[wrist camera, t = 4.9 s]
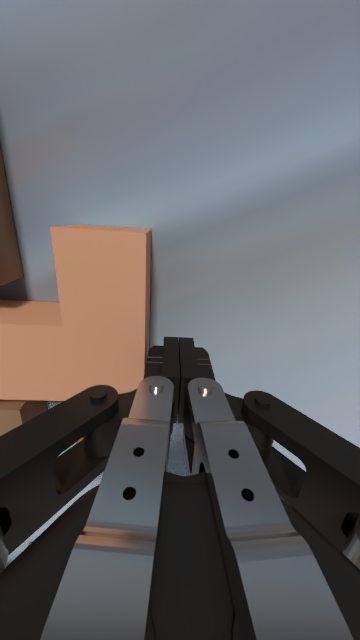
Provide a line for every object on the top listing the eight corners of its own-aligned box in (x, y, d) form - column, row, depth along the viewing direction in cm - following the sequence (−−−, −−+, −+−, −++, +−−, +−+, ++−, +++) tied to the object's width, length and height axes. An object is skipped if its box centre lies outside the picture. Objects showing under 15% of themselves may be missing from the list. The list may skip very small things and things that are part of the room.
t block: (151, 229, 12) (146, 233, 9) (147, 419, 17) (143, 459, 14) (-79, 213, 11) (-157, 213, 9) (-17, 416, 16) (-56, 458, 13)
